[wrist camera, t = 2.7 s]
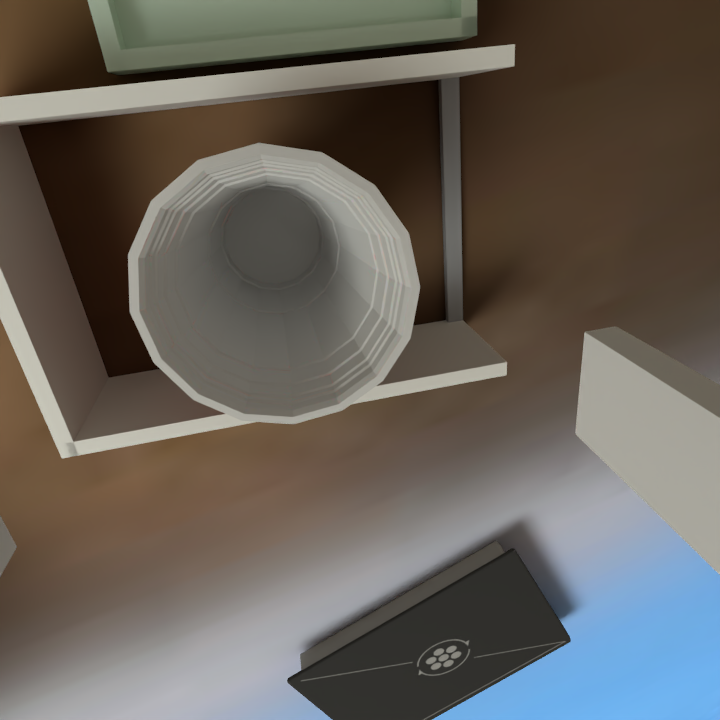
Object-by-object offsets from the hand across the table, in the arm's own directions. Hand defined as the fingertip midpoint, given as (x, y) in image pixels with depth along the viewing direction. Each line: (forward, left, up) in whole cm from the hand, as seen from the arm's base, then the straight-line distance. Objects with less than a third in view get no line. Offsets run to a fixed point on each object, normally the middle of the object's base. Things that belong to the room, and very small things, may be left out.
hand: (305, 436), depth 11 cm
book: (+8, -38, -22) cm, 44 cm away
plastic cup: (0, 0, -21) cm, 21 cm away
